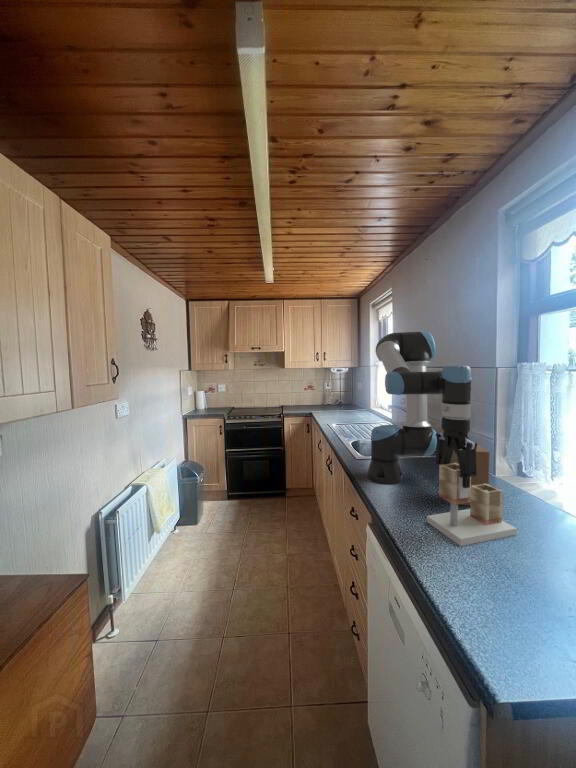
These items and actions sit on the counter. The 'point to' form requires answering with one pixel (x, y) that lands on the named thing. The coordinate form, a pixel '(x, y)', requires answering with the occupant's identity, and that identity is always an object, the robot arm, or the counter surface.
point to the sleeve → (451, 484)
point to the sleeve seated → (486, 504)
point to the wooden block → (477, 467)
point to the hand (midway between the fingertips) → (454, 492)
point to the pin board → (468, 527)
